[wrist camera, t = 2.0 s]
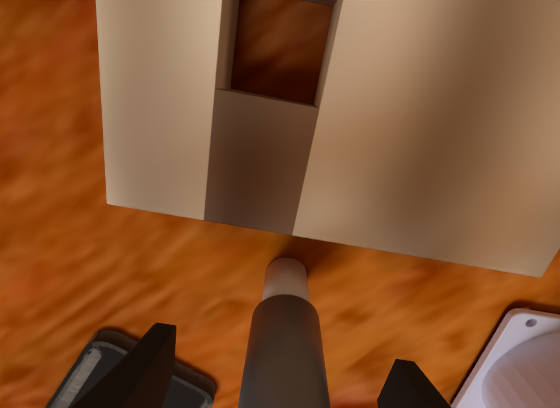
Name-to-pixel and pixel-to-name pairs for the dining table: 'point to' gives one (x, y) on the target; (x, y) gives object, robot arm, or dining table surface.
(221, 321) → the dining table surface
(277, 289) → the grey cylinder
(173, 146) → the board
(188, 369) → the phone
